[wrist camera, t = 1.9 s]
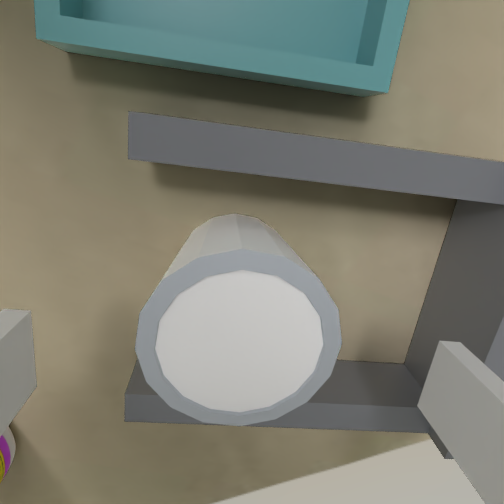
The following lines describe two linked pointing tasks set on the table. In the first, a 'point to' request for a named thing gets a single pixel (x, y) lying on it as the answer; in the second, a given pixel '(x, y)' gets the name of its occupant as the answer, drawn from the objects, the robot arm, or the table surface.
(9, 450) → the supplement bottle
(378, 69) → the tray
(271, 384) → the shot glass
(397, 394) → the bay
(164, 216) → the table surface
